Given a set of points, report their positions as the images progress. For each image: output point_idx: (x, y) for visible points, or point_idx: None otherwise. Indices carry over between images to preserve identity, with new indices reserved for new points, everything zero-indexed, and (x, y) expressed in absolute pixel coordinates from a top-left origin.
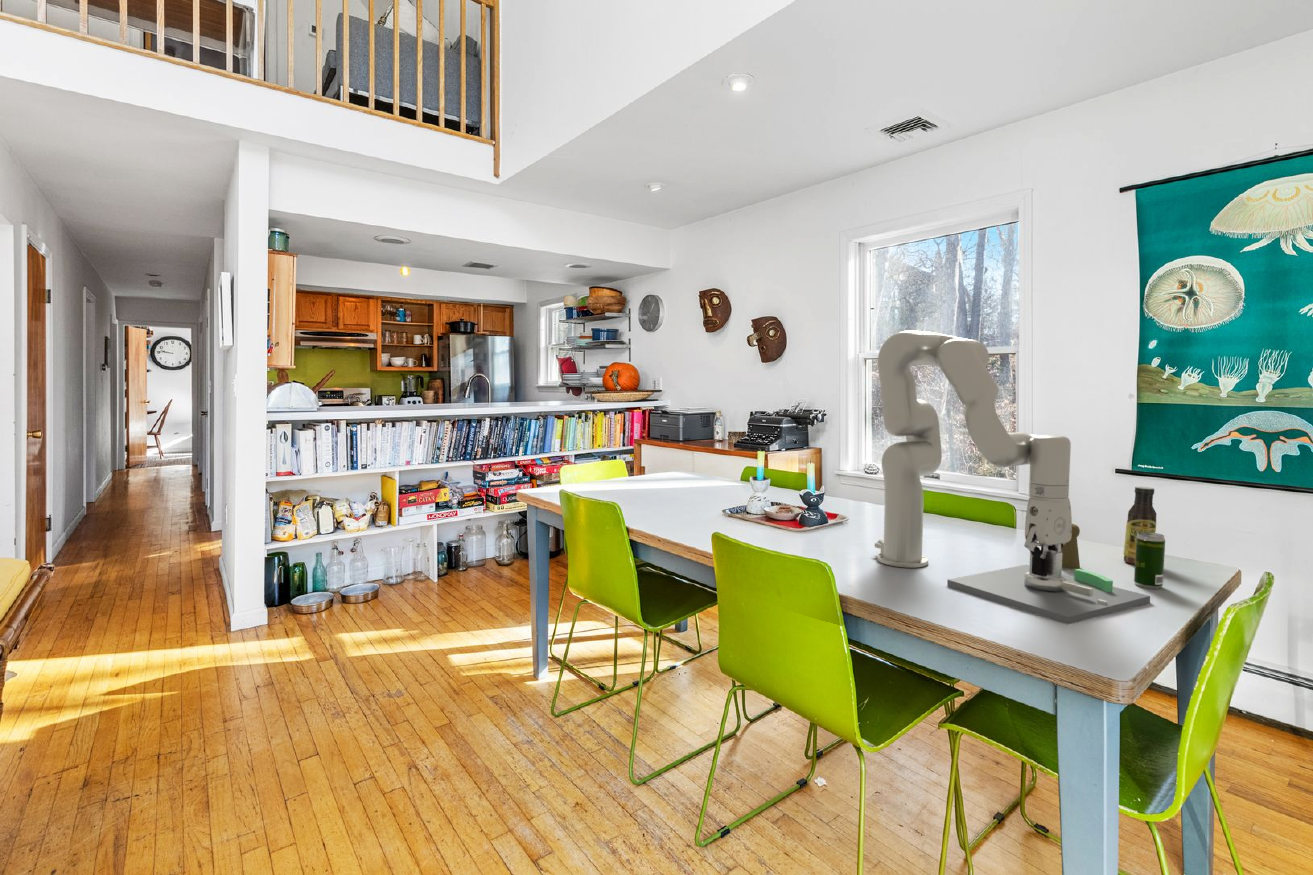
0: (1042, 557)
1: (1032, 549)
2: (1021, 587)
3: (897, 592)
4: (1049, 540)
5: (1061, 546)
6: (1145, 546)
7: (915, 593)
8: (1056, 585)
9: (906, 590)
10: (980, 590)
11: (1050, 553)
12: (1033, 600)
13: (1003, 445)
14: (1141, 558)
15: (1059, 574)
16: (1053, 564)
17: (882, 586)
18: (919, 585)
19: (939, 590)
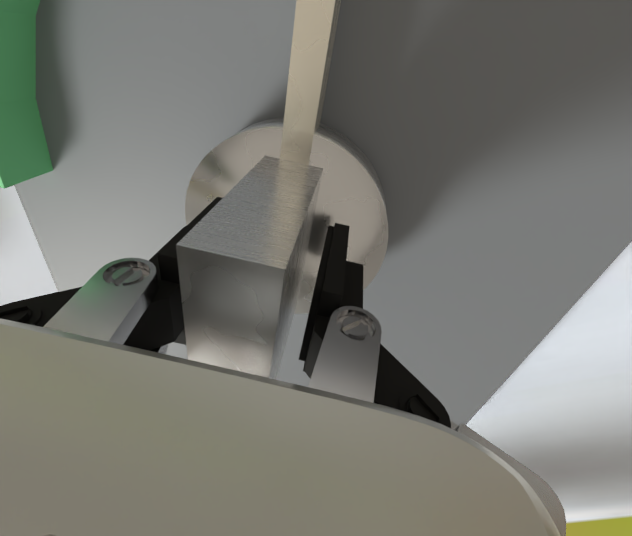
0: (379, 323)
1: (487, 442)
2: (379, 273)
3: (618, 461)
4: (440, 512)
5: (29, 313)
6: None
7: (601, 438)
8: (347, 146)
9: (580, 454)
10: (527, 351)
11: (279, 313)
12: (598, 161)
13: None
14: None
15: (276, 171)
16: (302, 231)
17: (573, 484)
18: (501, 446)
19: (522, 412)
